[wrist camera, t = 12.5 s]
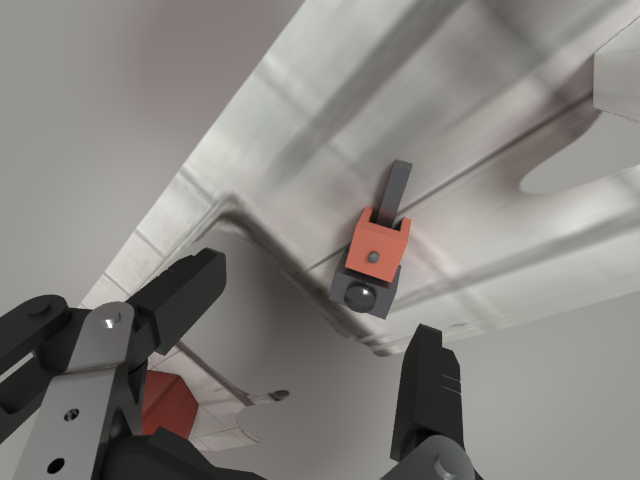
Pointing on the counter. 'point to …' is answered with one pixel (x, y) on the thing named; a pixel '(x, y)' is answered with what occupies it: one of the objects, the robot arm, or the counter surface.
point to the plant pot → (167, 404)
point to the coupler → (362, 288)
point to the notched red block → (377, 247)
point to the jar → (619, 74)
